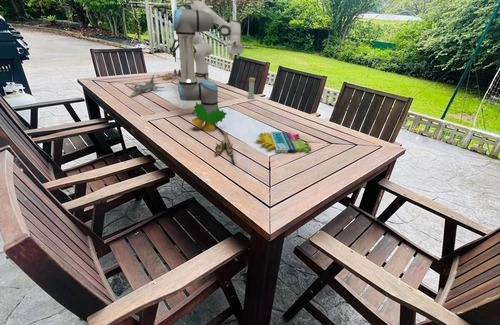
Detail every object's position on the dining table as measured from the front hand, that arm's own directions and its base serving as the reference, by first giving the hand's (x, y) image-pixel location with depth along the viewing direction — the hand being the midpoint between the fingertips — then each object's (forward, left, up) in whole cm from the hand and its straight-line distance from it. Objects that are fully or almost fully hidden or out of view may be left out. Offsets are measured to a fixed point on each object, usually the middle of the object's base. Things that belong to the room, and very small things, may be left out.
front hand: (184, 61), depth 211 cm
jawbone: (-108, -13, -28) cm, 112 cm away
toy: (+73, +11, -28) cm, 79 cm away
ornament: (-76, -10, -28) cm, 81 cm away
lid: (-9, -56, -11) cm, 57 cm away
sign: (-102, -48, -28) cm, 117 cm away
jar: (-9, -56, -28) cm, 63 cm away
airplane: (+17, +34, -28) cm, 47 cm away
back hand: (+10, -44, +2) cm, 46 cm away
